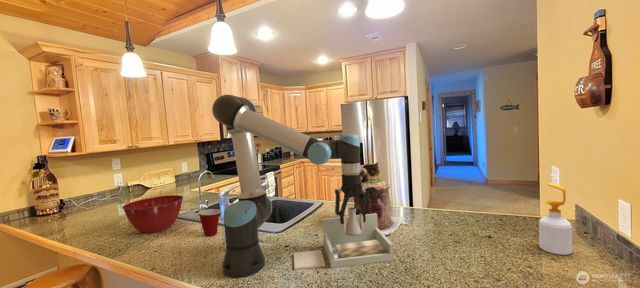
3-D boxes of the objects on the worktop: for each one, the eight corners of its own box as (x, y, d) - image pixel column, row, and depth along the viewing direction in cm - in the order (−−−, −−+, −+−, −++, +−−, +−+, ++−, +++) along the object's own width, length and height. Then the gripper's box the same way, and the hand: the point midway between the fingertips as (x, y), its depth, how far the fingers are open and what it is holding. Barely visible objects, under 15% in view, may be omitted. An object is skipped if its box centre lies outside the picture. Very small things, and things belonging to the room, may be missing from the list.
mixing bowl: (122, 229, 151) (119, 202, 150) (178, 216, 169) (176, 192, 168) (128, 244, 129) (124, 212, 128) (191, 227, 148) (189, 199, 147)
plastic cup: (225, 234, 134) (223, 210, 134) (202, 240, 128) (200, 215, 127) (219, 228, 143) (217, 206, 142) (197, 234, 136) (195, 211, 136)
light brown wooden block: (339, 265, 97) (338, 249, 97) (337, 260, 101) (336, 244, 101) (383, 259, 100) (383, 243, 100) (379, 254, 104) (378, 239, 104)
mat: (294, 270, 96) (294, 268, 96) (293, 254, 107) (293, 252, 107) (325, 266, 97) (325, 264, 97) (321, 251, 109) (320, 249, 109)
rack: (331, 268, 96) (329, 235, 95) (324, 246, 113) (322, 218, 112) (393, 260, 98) (392, 228, 98) (377, 240, 116) (376, 213, 115)
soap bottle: (541, 242, 105) (540, 180, 104) (572, 248, 99) (572, 182, 98) (537, 250, 99) (536, 184, 98) (571, 258, 93) (570, 187, 91)
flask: (362, 237, 103) (361, 211, 102) (343, 236, 105) (342, 211, 104) (362, 230, 110) (362, 206, 110) (345, 229, 112) (344, 205, 111)
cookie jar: (362, 214, 151) (359, 158, 149) (406, 221, 137) (403, 159, 135) (339, 229, 131) (335, 164, 130) (388, 239, 117) (384, 166, 115)
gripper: (328, 176, 101) (331, 236, 102) (377, 173, 103) (379, 232, 105) (325, 173, 109) (328, 229, 110) (371, 170, 111) (373, 225, 112)
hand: (353, 230), depth 107 cm, fingers closed on flask, 6 cm apart
